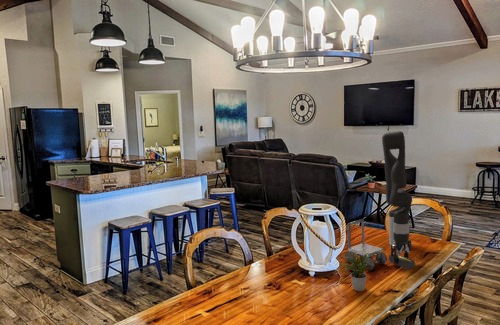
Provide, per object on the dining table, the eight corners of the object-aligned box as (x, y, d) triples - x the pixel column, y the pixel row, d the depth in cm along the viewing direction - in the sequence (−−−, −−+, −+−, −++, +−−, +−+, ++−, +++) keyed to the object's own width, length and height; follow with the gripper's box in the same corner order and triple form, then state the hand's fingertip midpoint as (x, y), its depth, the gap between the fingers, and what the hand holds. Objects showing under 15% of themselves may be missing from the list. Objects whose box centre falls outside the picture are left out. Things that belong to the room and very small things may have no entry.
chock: (389, 262, 204) (389, 254, 203) (395, 260, 206) (395, 253, 205) (408, 270, 192) (408, 262, 191) (414, 268, 194) (414, 260, 193)
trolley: (344, 261, 207) (343, 222, 205) (359, 256, 214) (358, 218, 212) (372, 270, 193) (371, 228, 190) (387, 264, 199) (386, 224, 197)
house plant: (353, 278, 185) (353, 245, 183) (381, 286, 175) (380, 251, 173) (337, 288, 175) (336, 253, 173) (365, 297, 165) (364, 260, 163)
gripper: (402, 227, 204) (403, 256, 206) (386, 232, 196) (386, 263, 198) (415, 230, 198) (416, 260, 199) (399, 235, 190) (399, 267, 191)
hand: (401, 261), depth 198 cm, fingers open, 8 cm apart
